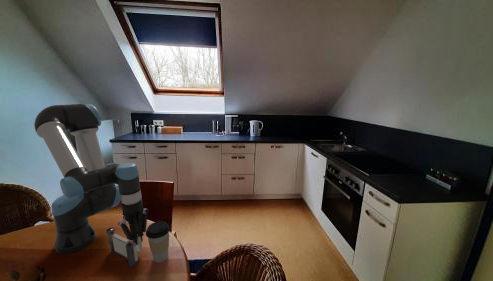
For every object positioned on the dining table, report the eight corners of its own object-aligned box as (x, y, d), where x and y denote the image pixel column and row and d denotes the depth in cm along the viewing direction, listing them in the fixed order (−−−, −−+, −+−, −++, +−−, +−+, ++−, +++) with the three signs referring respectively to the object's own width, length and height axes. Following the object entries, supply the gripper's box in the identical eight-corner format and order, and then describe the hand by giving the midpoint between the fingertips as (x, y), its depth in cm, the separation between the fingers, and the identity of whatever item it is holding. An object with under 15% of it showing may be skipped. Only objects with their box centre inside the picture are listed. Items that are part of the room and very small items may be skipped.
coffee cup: (164, 267, 88) (161, 235, 84) (144, 264, 90) (139, 232, 86) (176, 251, 97) (173, 221, 93) (157, 248, 99) (154, 218, 95)
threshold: (114, 252, 96) (114, 251, 96) (117, 250, 97) (117, 250, 97) (135, 263, 90) (135, 263, 90) (137, 262, 90) (137, 261, 90)
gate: (114, 250, 96) (111, 235, 94) (117, 248, 97) (114, 233, 95) (135, 261, 89) (132, 245, 88) (138, 259, 91) (136, 243, 89)
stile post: (128, 266, 89) (125, 245, 86) (132, 263, 90) (129, 242, 88) (131, 267, 88) (128, 246, 85) (135, 265, 89) (132, 244, 87)
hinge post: (108, 251, 96) (104, 230, 94) (115, 246, 99) (112, 226, 97) (112, 254, 95) (109, 232, 92) (119, 249, 98) (116, 228, 95)
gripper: (139, 192, 96) (146, 238, 102) (110, 205, 85) (119, 256, 91) (151, 195, 93) (157, 243, 98) (122, 210, 82) (131, 263, 87)
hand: (139, 249), depth 95 cm, fingers closed
